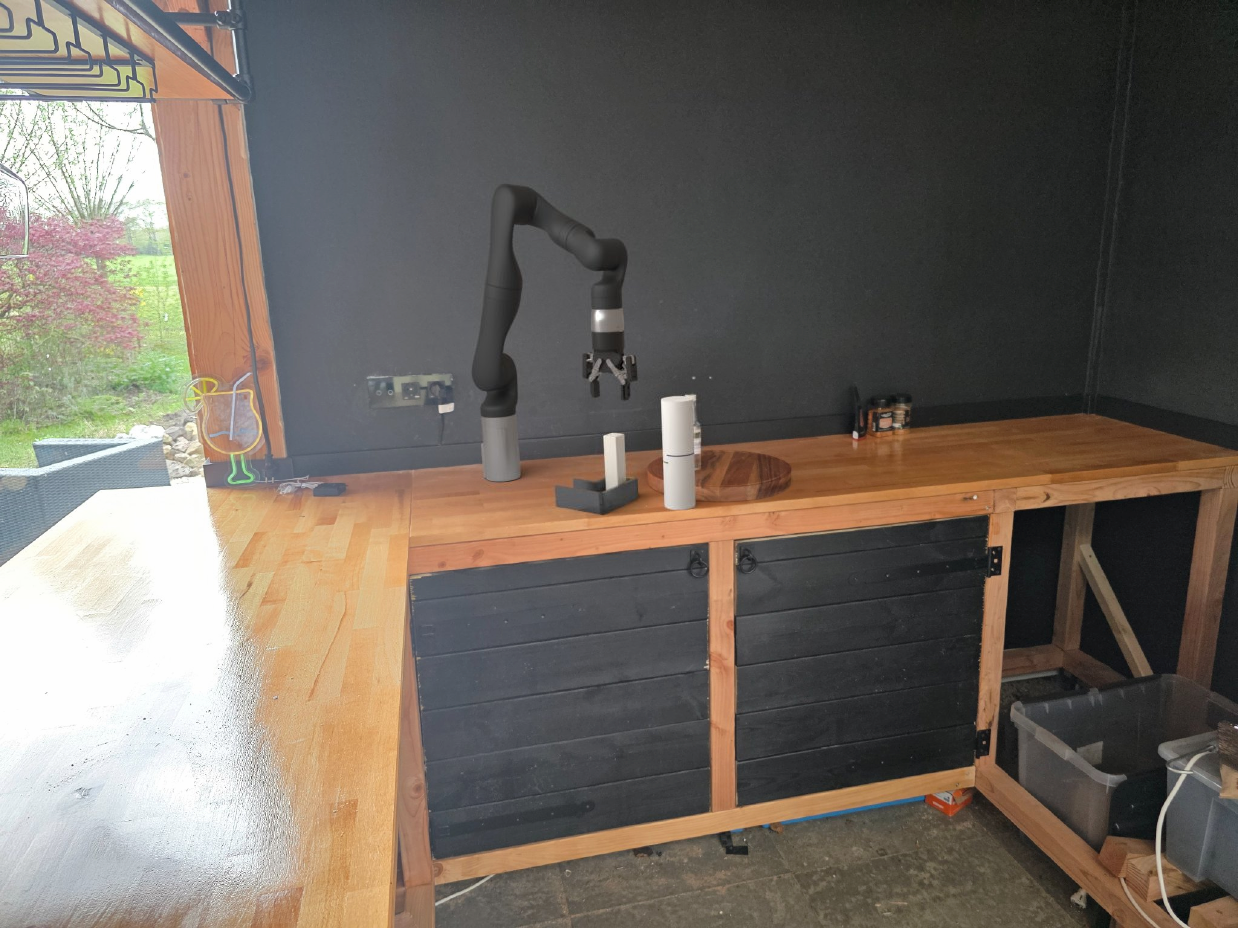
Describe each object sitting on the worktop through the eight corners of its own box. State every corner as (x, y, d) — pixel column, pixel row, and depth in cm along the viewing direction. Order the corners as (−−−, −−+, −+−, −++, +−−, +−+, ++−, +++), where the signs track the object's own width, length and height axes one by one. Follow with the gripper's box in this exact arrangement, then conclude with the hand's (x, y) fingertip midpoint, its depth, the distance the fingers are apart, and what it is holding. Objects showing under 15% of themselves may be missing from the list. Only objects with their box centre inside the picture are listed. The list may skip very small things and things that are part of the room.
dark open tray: (556, 506, 199) (554, 486, 197) (593, 490, 210) (591, 471, 209) (602, 514, 191) (601, 493, 189) (638, 498, 202) (637, 478, 201)
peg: (606, 501, 201) (603, 435, 197) (615, 497, 204) (612, 432, 200) (618, 503, 199) (615, 437, 195) (627, 499, 202) (624, 434, 198)
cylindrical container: (684, 511, 190) (681, 402, 184) (658, 507, 194) (654, 400, 188) (701, 503, 196) (698, 397, 189) (675, 499, 200) (672, 395, 194)
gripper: (573, 329, 193) (576, 399, 198) (623, 331, 185) (625, 404, 189) (593, 326, 199) (596, 393, 203) (642, 328, 191) (644, 398, 195)
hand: (610, 398), depth 196 cm, fingers open, 8 cm apart
